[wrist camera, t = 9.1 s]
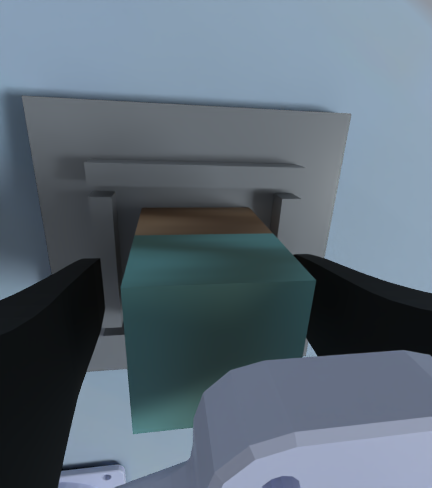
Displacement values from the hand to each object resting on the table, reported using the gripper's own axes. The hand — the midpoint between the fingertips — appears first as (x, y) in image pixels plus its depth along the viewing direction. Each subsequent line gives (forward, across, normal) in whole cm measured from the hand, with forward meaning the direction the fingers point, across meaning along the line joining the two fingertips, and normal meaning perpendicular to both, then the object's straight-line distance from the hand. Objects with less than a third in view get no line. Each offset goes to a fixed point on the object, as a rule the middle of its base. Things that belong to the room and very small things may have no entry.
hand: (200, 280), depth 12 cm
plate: (+3, 0, 0) cm, 3 cm away
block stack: (+2, 0, 0) cm, 2 cm away
